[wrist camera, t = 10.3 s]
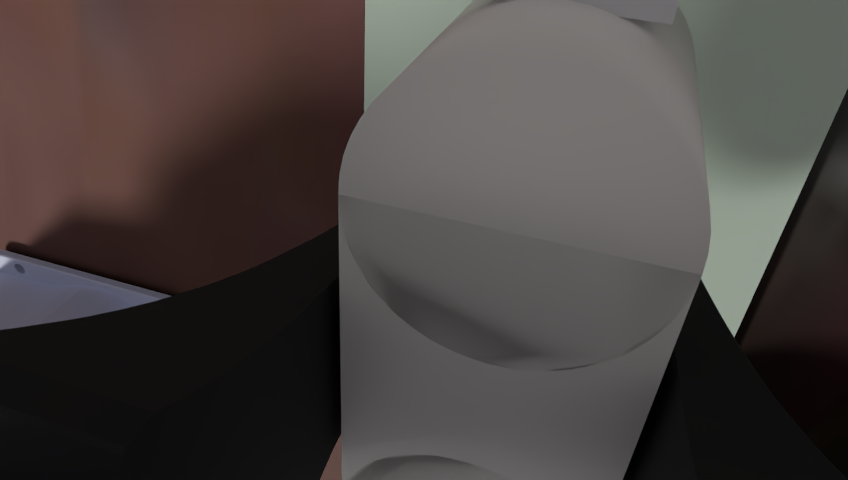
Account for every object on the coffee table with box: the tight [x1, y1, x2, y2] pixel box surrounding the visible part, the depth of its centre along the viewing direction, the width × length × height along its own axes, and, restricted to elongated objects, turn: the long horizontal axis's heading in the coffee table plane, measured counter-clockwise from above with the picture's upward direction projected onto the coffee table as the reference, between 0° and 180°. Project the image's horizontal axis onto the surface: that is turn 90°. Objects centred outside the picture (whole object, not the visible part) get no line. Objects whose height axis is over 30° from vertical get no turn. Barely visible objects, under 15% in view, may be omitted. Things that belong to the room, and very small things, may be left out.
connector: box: [338, 0, 711, 480], centre depth 10 cm, size 4×13×5 cm, turn 176°
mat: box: [364, 0, 848, 337], centre depth 18 cm, size 12×16×1 cm
